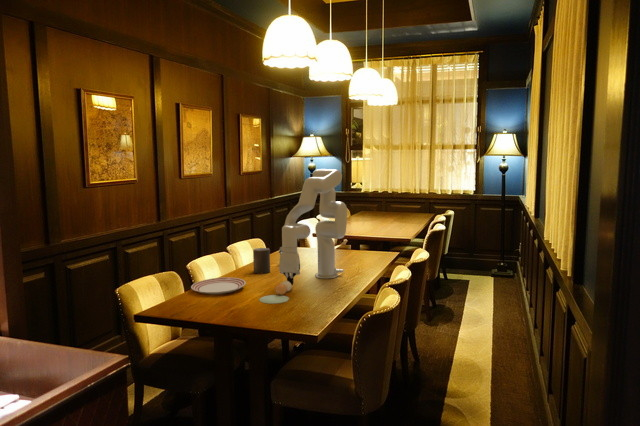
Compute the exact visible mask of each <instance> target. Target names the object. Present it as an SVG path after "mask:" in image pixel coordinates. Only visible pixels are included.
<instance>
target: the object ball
mask: <svg viewBox="0 0 640 426" xmlns="http://www.w3.org/2000/svg"><path fill="white" fill-rule="evenodd" d="M286 291H287V288H286V286H285V285H284V284H281V283H278V284H277V285H276V286H275V293H276V295H283V296H285V295H286V293H287V292H286Z"/></svg>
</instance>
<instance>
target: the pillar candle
mask: <svg viewBox="0 0 640 426" xmlns="http://www.w3.org/2000/svg"><path fill="white" fill-rule="evenodd" d="M252 252H253V256H252V257H253V263H252V265H253V273H254V274H258V275H264V274H269V273H270V272H271V256H270V255H271V254H270V253H271V251H270V248H269V247H267V248H266V247H258V248H253V249H252Z"/></svg>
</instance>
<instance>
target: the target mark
mask: <svg viewBox="0 0 640 426" xmlns="http://www.w3.org/2000/svg"><path fill="white" fill-rule="evenodd" d="M258 300H259V302H261V303H264V304H270V305H271V304H273V305H275V304H282V303H286V302H288V301H289V300H290V297H289V296H287V295H279V294H270V295H269V294H268V295H265V296H262V297H260V298H259V299H258Z"/></svg>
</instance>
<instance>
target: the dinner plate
mask: <svg viewBox="0 0 640 426" xmlns="http://www.w3.org/2000/svg"><path fill="white" fill-rule="evenodd" d="M246 284H247V283H246V281H245V280H244V279H242V278H238V277H214V278H207V279H204V280H203V279H202V280H200V281H196V282H194V283H193V284H192V285H191V286H190V289H191V290H193V291H195V292H198V293H201V294H206V295H224V294H229V293H230V294H231V293H233V292H235V291H237V290H240V289H242V288H243V287H244V286H245V285H246Z"/></svg>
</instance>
